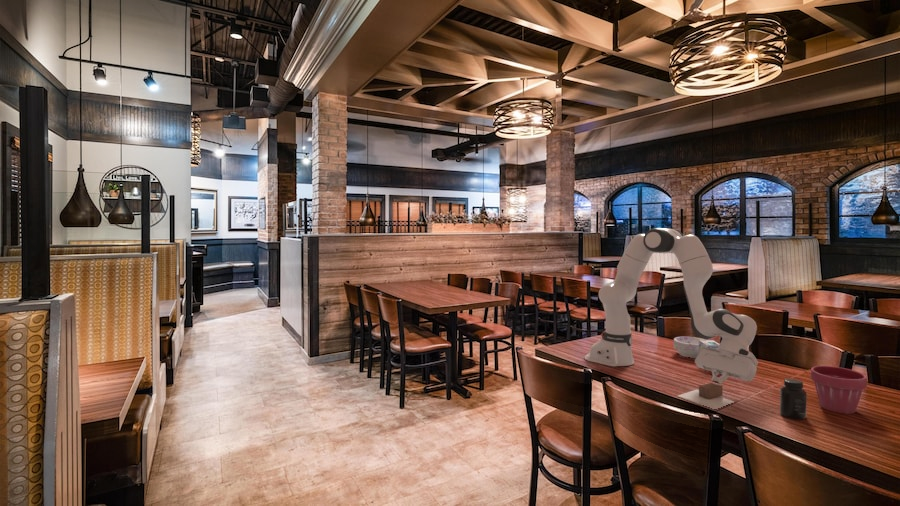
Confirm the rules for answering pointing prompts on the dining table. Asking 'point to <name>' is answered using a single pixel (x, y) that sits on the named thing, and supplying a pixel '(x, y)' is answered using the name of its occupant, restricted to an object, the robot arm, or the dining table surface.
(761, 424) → the dining table surface
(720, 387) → the wooden block
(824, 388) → the plant pot
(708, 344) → the light bulb box
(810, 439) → the dining table surface
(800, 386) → the supplement bottle
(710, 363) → the robot arm
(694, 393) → the plate
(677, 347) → the paper bowls
